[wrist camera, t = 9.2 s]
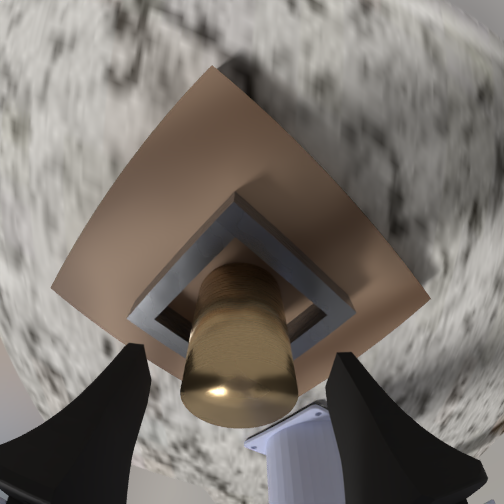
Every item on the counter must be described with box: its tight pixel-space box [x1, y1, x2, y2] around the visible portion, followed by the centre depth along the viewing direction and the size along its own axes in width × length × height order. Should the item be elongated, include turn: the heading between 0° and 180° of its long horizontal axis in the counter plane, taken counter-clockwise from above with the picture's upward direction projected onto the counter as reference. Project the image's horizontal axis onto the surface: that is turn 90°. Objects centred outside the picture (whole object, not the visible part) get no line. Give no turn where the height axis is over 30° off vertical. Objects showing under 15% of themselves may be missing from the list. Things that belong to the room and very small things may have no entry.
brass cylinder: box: [180, 263, 298, 428], centre depth 13 cm, size 4×4×6 cm
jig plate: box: [51, 66, 431, 397], centre depth 16 cm, size 16×14×2 cm
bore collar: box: [127, 191, 357, 361], centre depth 15 cm, size 8×8×2 cm
